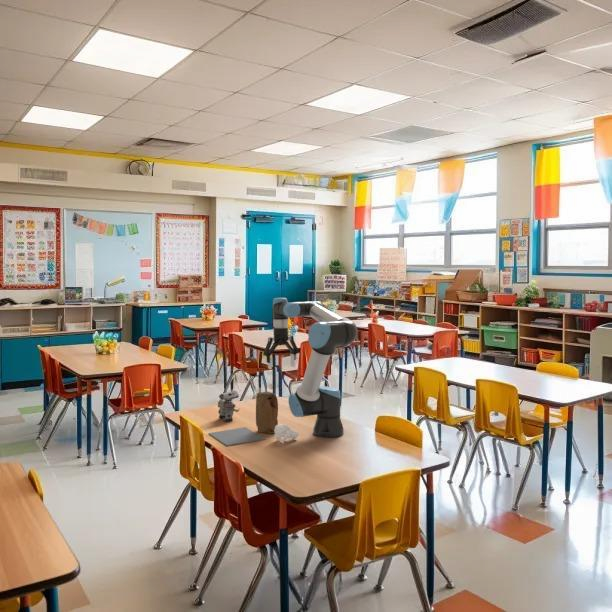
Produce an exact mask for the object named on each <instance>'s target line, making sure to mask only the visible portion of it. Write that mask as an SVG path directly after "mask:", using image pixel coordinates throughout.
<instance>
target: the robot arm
mask: <svg viewBox="0 0 612 612" xmlns="http://www.w3.org/2000/svg"><path fill="white" fill-rule="evenodd" d="M272 313H273V314H272V315H273V320H272V321H273V322H272V323H273V327H274V328H273V337H271V336H270V337H269V336H268V338H267V343H266V346H265V348H264V351H263V353H262V355H263V356H265V357H266V363H267V369H268V370H273V361H272V359H273V357H272V354H273V353H274V351H276V348H277V347H278V346H286V348H287V350H289V352H290V367H291V368H292V367H293V368H294V367H295V361H296V356H297V354H298V353H299V352H300V350H299V348H298V346H297V344H296V342H295V340H294V336H293V335H289V328H288V327H289V322H288V321H289V320H288V318H297V317H310V318H312V319H314V320H315V321H316V322H314V323H313V324H312V325H310V328H309V330H308V334H307V335H308V338H307V341H308V344H309V346H310V348H311V353H310V356H309V360H308V363H307V365H306V369H305V372H304V374H303V378H302V381H301V384H300V385H298V386H297V388H296V390H295V392H294V393H293V392H292V393H290V394H289V396H288V405H289V406H288V407H289V410H290V412H291V414H292V415H293V416H294V417H295V418H305V417H311V416H316V420H315V422H314V425H313V434H314V435H315V436H317V437H320V438H337V437H340V436H343V435H344V433H345V432H344V425H343V423H342V420H341V390H340V389H338V388H336V387H332V386H326V385H325V386H323V385H321V383H322V381H323V378H324V375H325V372H326V369H327V366H328V362H329V359H330V357H331V356H333V355H334V354H335V352H336V349H337V347H345V346H348V345H351V344H352V343H353V342H355V340H356V338H357V336H358V327H357V325H356V323H355V322H354V321H353V320H351V319H349V318H348V317H341V316H339V315H338V314H336V313H334V312H332V311H331V310H329V309H327V308H325V307H324V305H323V303H322V302H321V301H319V300H311V301H293V302H292V301H291V302H289V301H288V299H287V298H286V297H275V298H273V300H272ZM289 342H290V343H289Z"/></svg>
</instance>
